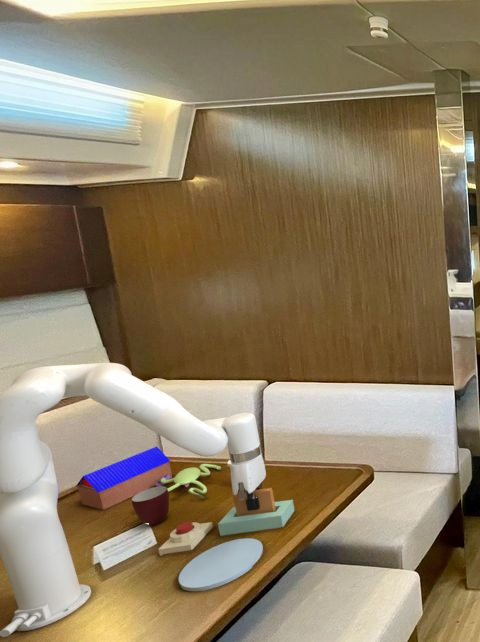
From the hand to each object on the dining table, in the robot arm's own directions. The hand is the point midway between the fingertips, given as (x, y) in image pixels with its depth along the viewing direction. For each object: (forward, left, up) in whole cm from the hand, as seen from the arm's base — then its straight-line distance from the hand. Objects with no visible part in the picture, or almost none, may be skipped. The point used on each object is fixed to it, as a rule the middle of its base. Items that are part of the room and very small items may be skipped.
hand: (255, 506), depth 140 cm
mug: (+9, +34, -6) cm, 36 cm away
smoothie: (+26, +17, -6) cm, 32 cm away
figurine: (+26, +36, -6) cm, 45 cm away
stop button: (-4, +17, -2) cm, 18 cm away
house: (+31, +55, -6) cm, 63 cm away
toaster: (0, 0, -6) cm, 6 cm away
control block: (-4, +17, -6) cm, 18 cm away
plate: (-17, +1, -6) cm, 18 cm away
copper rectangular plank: (0, 0, -6) cm, 6 cm away
